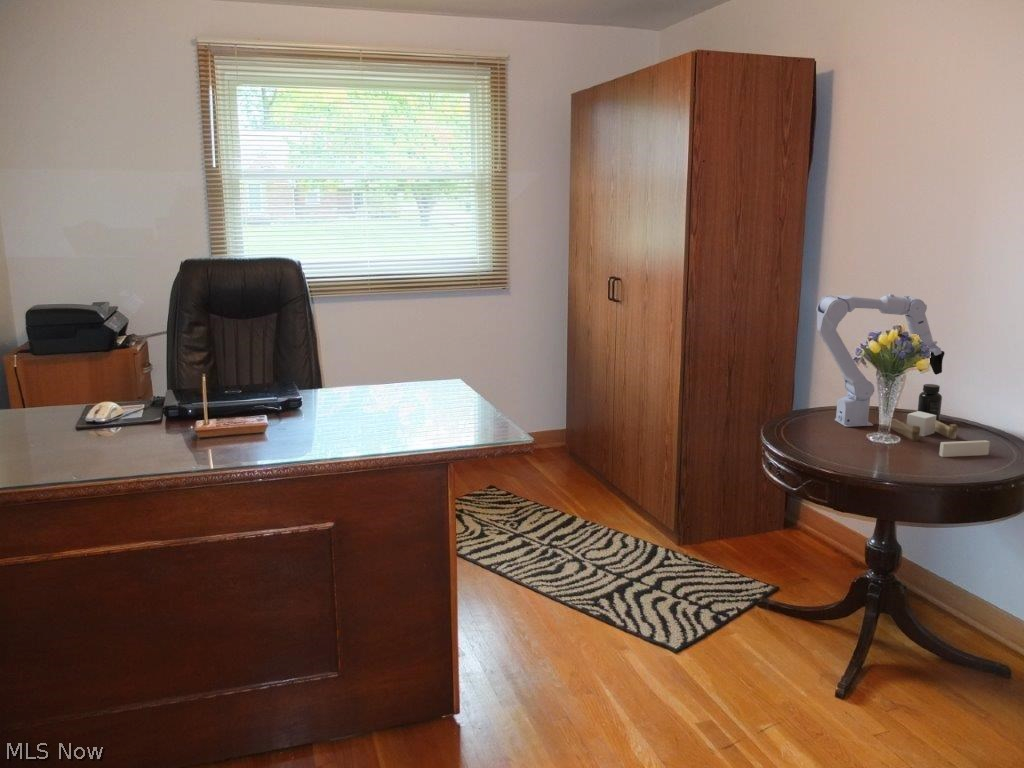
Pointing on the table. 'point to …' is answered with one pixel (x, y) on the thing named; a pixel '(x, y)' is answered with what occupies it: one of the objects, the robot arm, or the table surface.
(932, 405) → the supplement bottle
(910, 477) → the table surface
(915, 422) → the beige cube
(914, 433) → the chute
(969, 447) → the board
